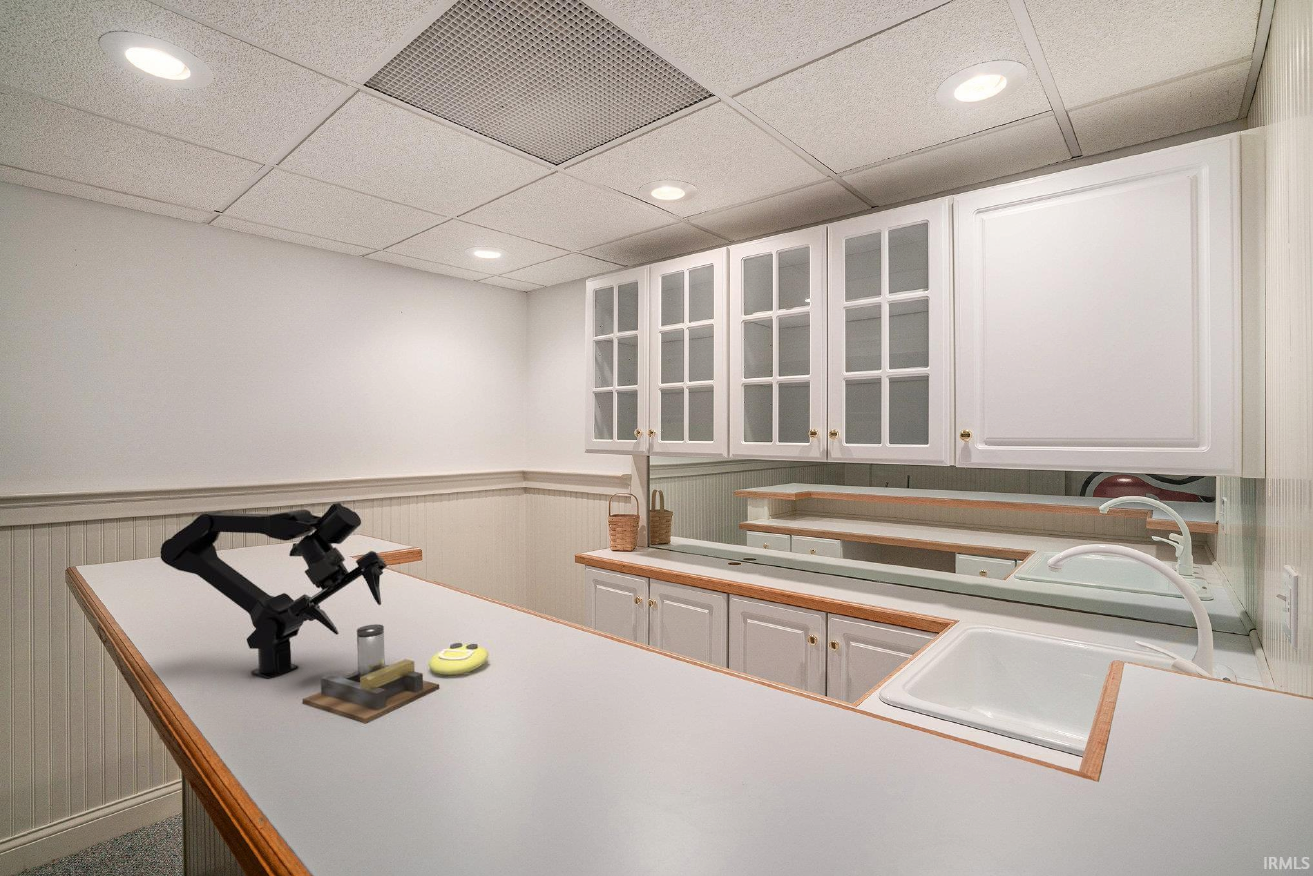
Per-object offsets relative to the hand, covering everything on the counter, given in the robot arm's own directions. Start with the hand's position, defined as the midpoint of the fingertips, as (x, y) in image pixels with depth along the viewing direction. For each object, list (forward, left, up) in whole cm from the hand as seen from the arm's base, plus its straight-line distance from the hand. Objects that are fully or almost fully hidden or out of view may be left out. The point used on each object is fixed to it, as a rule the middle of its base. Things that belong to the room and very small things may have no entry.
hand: (358, 619), depth 125 cm
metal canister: (+8, -3, -12) cm, 15 cm away
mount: (+8, -3, -13) cm, 15 cm away
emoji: (+12, +14, -13) cm, 23 cm away
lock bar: (+13, -3, -9) cm, 16 cm away
